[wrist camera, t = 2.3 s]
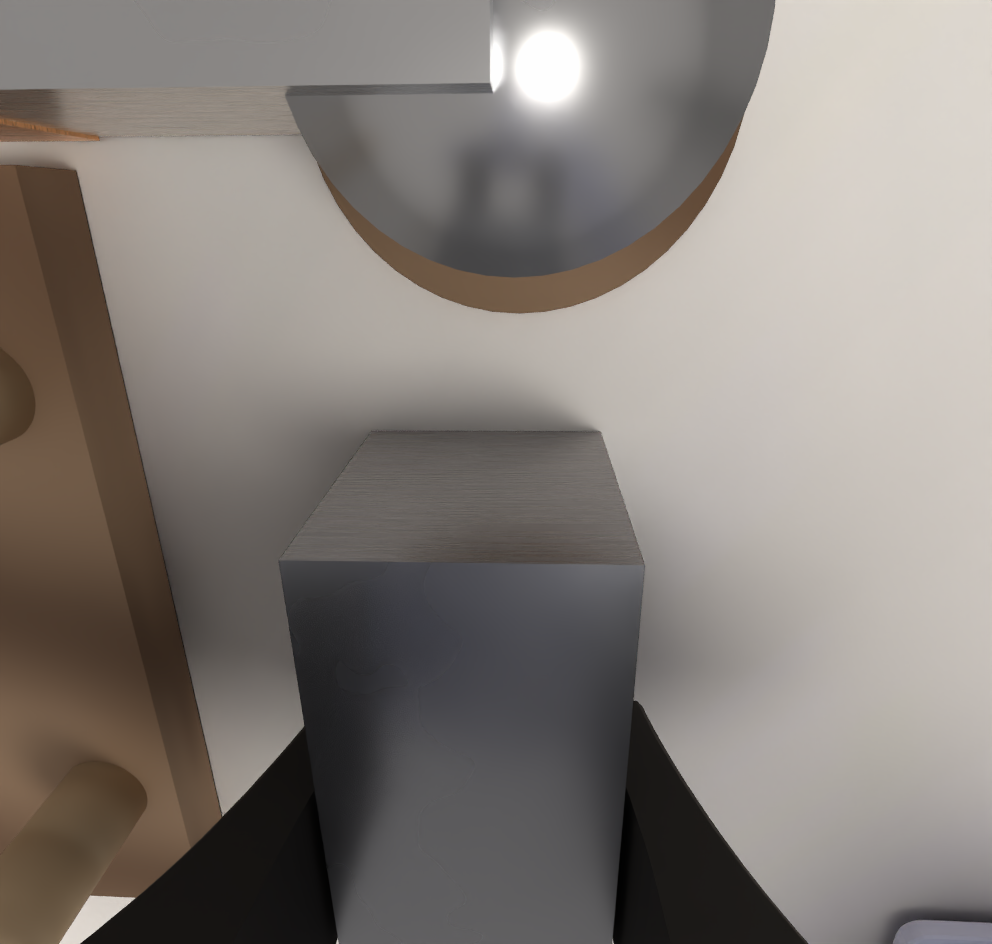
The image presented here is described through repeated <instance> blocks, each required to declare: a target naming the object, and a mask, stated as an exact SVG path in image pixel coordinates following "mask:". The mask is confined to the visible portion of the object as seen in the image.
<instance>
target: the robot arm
mask: <svg viewBox="0 0 992 944" xmlns="http://www.w3.org/2000/svg"><path fill="white" fill-rule="evenodd" d="M337 938H338V935H337V929H336V922H335V916H334V910H333V903H332V897H331V890H330V884H329V878H328V871H327V865H326V859H325V852H324V846H323V840H322V833H321V827H320V821H319V814H318V808H317V801H316V795H315V789H314V782H313V776H312V770H311V763H310V757H309V751H308V744H307V738H306V732H305V726H304V727H303V729H302V730H301V731H300V732H299V733H298V734H297V736H296V737H295V738H294V739H293V740H292V742H291V743H290V744H289V745H288V746H287V747H286V749H285V750H284V751H283V752H282V753H281V754H280V755H279V757H278V758H277V759H276V760H275V761H274V762H273V763H272V764H271V765H270V767H269V768H268V769H267V770H266V771H265V772H264V773H263V774H262V775H261V777H260V778H259V779H258V780H257V781H256V782H255V783H254V784H253V785H252V787H251V788H250V789H249V790H248V791H247V792H246V793H245V794H244V795H243V796H242V797H241V798H240V799H239V800H238V801H237V802H236V803H235V805H234V806H233V807H232V808H231V809H230V810H229V811H228V812H227V813H226V814H225V815H224V816H223V817H222V818H221V819H220V820H219V821H218V822H217V823H216V824H215V825H214V826H213V827H212V828H211V829H210V830H209V831H208V832H207V833H206V834H205V835H204V836H203V837H202V838H201V839H200V840H199V841H198V842H197V843H196V844H195V845H194V846H193V847H192V848H191V849H190V850H188V851H187V852H186V853H185V854H184V855H183V856H182V857H181V858H180V859H179V860H178V861H177V862H176V863H175V864H174V865H172V866H171V867H170V868H169V869H168V870H167V871H166V872H165V873H164V874H163V875H161V876H160V877H159V878H158V879H157V880H156V881H155V882H154V883H152V884H151V885H150V886H149V887H148V888H147V889H146V890H145V891H143V892H142V893H141V894H140V895H139V896H138V897H137V898H135V899H134V900H133V901H132V902H131V903H129V904H128V905H127V906H126V907H125V908H123V909H122V910H121V911H120V912H119V913H117V914H116V915H115V916H114V917H112V918H111V919H110V920H109V921H108V922H106V923H105V924H104V925H103V926H102V927H100V928H99V929H98V930H97V931H96V932H94V933H93V934H92V935H91V936H89V937H88V938H87V939H86V940H84V941H83V942H82V943H81V944H336V942H337ZM613 941H614V944H808V943H807V941H806V940H805V939H804V938H803V937H802V936H801V935H800V934H799V932H798V931H797V930H796V929H795V928H794V927H793V925H792V924H791V923H790V922H789V921H788V919H787V918H786V917H785V916H784V915H783V914H782V912H781V911H780V910H779V909H778V908H777V906H776V905H775V904H774V903H773V902H772V900H771V899H770V898H769V897H768V896H767V894H766V893H765V892H764V891H763V889H762V888H761V887H760V886H759V884H758V883H757V882H756V880H755V879H754V878H753V877H752V875H751V874H750V873H749V871H748V870H747V869H746V868H745V866H744V865H743V864H742V862H741V861H740V860H739V858H738V857H737V856H736V854H735V853H734V851H733V850H732V849H731V847H730V846H729V845H728V843H727V842H726V841H725V839H724V838H723V837H722V835H721V834H720V832H719V831H718V830H717V828H716V827H715V825H714V824H713V822H712V821H711V820H710V818H709V817H708V815H707V814H706V812H705V811H704V809H703V808H702V806H701V805H700V803H699V802H698V800H697V799H696V797H695V796H694V794H693V793H692V791H691V790H690V788H689V787H688V785H687V784H686V782H685V781H684V779H683V777H682V776H681V774H680V773H679V771H678V769H677V768H676V766H675V764H674V763H673V761H672V759H671V758H670V756H669V754H668V753H667V751H666V749H665V748H664V746H663V744H662V742H661V741H660V739H659V737H658V735H657V734H656V732H655V730H654V728H653V726H652V724H651V722H650V721H649V719H648V717H647V715H646V713H645V711H644V709H643V707H642V706H641V705H640V704H639V703H638V702H637V701H633V708H632V720H631V731H630V743H629V755H628V766H627V778H626V789H625V801H624V812H623V824H622V835H621V847H620V858H619V870H618V881H617V893H616V904H615V916H614V928H613ZM893 944H992V923H985V922H963V921H941V920H914V921H911V922H908V923H906V924H904V925H903V926H901V927H900V928H899V930H898V931H897V933H896V936H895V938H894V941H893Z"/></svg>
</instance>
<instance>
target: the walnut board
mask: <svg viewBox="0 0 992 944" xmlns="http://www.w3.org/2000/svg"><path fill="white" fill-rule="evenodd" d="M221 818H222V816H221V812H220V808H219V803H218V799H217V794H216V790H215V785H214V781H213V777H212V772H211V768H210V763H209V759H208V754H207V750H206V746H205V741H204V737H203V732H202V728H201V723H200V719H199V715H198V710H197V706H196V701H195V697H194V692H193V688H192V684H191V679H190V675H189V670H188V666H187V661H186V657H185V653H184V648H183V644H182V639H181V635H180V630H179V626H178V622H177V617H176V613H175V608H174V604H173V599H172V595H171V591H170V586H169V582H168V577H167V573H166V568H165V564H164V560H163V555H162V551H161V546H160V542H159V537H158V533H157V529H156V524H155V520H154V515H153V511H152V506H151V502H150V498H149V493H148V489H147V484H146V480H145V475H144V471H143V467H142V462H141V458H140V453H139V449H138V444H137V440H136V436H135V431H134V427H133V422H132V418H131V413H130V409H129V405H128V400H127V396H126V391H125V387H124V382H123V378H122V374H121V369H120V365H119V360H118V356H117V351H116V347H115V343H114V338H113V334H112V329H111V325H110V320H109V316H108V312H107V307H106V303H105V298H104V294H103V289H102V285H101V281H100V276H99V272H98V267H97V263H96V258H95V254H94V249H93V245H92V241H91V236H90V232H89V227H88V223H87V218H86V214H85V210H84V205H83V201H82V196H81V192H80V187H79V183H78V179H77V174H76V171H73V170H62V169H51V168H41V167H30V166H20V165H0V944H59V943H60V941H61V940H62V938H63V936H64V935H65V933H66V932H67V930H68V929H69V927H70V926H71V924H72V922H73V921H74V919H75V918H76V916H77V915H78V913H79V912H80V910H81V909H82V907H83V905H84V904H85V902H86V901H87V899H88V898H89V896H90V895H92V896H113V897H135V898H137V897H138V896H139V895H140V894H141V893H142V892H143V891H145V890H146V889H147V888H148V887H149V886H150V885H151V884H152V883H154V882H155V881H156V880H157V879H158V878H159V877H160V876H161V875H163V874H164V873H165V872H166V871H167V870H168V869H169V868H170V867H171V866H172V865H174V864H175V863H176V862H177V861H178V860H179V859H180V858H181V857H182V856H183V855H184V854H185V853H186V852H187V851H188V850H190V849H191V848H192V847H193V846H194V845H195V844H196V843H197V842H198V841H199V840H200V839H201V838H202V837H203V836H204V835H205V834H206V833H207V832H208V831H209V830H210V829H211V828H212V827H213V826H214V825H215V824H216V823H217V822H218V821H219V820H220V819H221Z"/></svg>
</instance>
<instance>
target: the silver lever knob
mask: <svg viewBox="0 0 992 944" xmlns="http://www.w3.org/2000/svg"><path fill="white" fill-rule="evenodd" d="M774 9H775V0H0V141H1V142H14V141H100V140H99V137H105V136H201V135H297V134H302V136H303V138H304V140H305V142H306V144H307V145H308V147H309V149H310V151H311V153H312V155H313V157H314V158H315V159H316V161H317V162H318V164H319V165H320V167H321V168H322V169H323V171H324V172H325V174H326V175H327V177H328V178H329V180H330V181H331V182H332V184H333V185H334V186H335V187H336V188H337V190H338V191H339V192H340V193H341V194H342V195H343V196H344V197H345V199H346V200H347V201H348V202H349V203H350V204H351V205H352V206H353V208H354V209H355V210H357V211H358V212H359V213H360V214H361V215H362V216H363V217H364V218H366V219H367V220H368V221H369V222H370V223H371V224H372V225H374V226H375V227H376V228H377V229H378V230H380V231H381V232H382V233H384V234H385V235H387V236H388V237H390V238H391V239H393V240H394V241H396V242H397V243H399V244H400V245H401V246H403V247H405V248H407V249H409V250H411V251H413V252H415V253H417V254H419V255H421V256H423V257H425V258H426V259H428V260H431V261H434V262H436V263H439V264H442V265H445V266H448V267H451V268H453V269H456V270H461V271H465V272H470V273H475V274H480V275H485V276H498V277H512V278H517V277H531V276H544V275H549V274H554V273H559V272H564V271H569V270H573V269H576V268H579V267H581V266H584V265H587V264H590V263H593V262H596V261H599V260H601V259H603V258H605V257H607V256H609V255H611V254H613V253H615V252H617V251H619V250H621V249H623V248H625V247H627V246H629V245H630V244H632V243H633V242H635V241H636V240H638V239H639V238H641V237H642V236H644V235H645V234H647V233H648V232H650V231H651V230H653V229H654V228H655V227H656V226H658V225H659V224H660V223H661V222H662V221H663V220H665V219H666V218H667V217H668V216H669V215H670V214H671V213H673V212H674V211H675V210H676V209H677V208H678V207H680V205H681V204H682V203H683V202H684V201H685V200H686V199H687V198H688V197H689V196H690V194H691V193H692V192H693V191H694V190H695V189H696V188H697V187H698V186H699V185H700V183H701V182H702V181H703V180H704V178H705V177H706V176H707V174H708V173H709V171H710V170H711V169H712V167H713V166H714V165H715V163H716V162H717V160H718V159H719V158H720V156H721V155H722V153H723V152H724V150H725V148H726V146H727V145H728V143H729V141H730V139H731V138H732V136H733V134H734V132H735V130H736V129H737V127H738V125H739V123H740V122H741V119H742V117H743V115H744V112H745V110H746V108H747V105H748V103H749V101H750V98H751V96H752V94H753V91H754V89H755V87H756V84H757V80H758V77H759V74H760V70H761V67H762V64H763V60H764V57H765V54H766V50H767V46H768V41H769V36H770V30H771V25H772V20H773V14H774Z"/></svg>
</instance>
